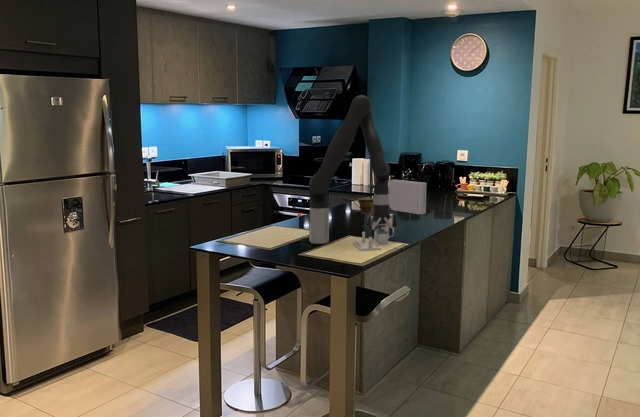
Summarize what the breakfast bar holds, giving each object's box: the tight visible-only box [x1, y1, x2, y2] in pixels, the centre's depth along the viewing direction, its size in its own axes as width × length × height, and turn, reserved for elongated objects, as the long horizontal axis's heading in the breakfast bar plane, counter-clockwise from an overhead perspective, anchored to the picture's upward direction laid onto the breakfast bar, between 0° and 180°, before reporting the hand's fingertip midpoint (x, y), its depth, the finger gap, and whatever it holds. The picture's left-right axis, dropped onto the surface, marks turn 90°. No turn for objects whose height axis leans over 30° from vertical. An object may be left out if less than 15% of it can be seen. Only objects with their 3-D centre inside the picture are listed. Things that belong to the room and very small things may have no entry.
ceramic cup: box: [353, 197, 374, 216], centre depth 362 cm, size 13×10×10 cm
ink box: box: [377, 213, 395, 239], centre depth 289 cm, size 8×5×12 cm, turn 141°
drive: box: [373, 228, 389, 246], centre depth 277 cm, size 4×9×6 cm, turn 9°
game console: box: [389, 179, 427, 215], centre depth 371 cm, size 6×27×20 cm, turn 39°
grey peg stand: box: [352, 231, 382, 252], centre depth 267 cm, size 10×14×6 cm
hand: (381, 236), depth 277 cm, fingers open, 8 cm apart
